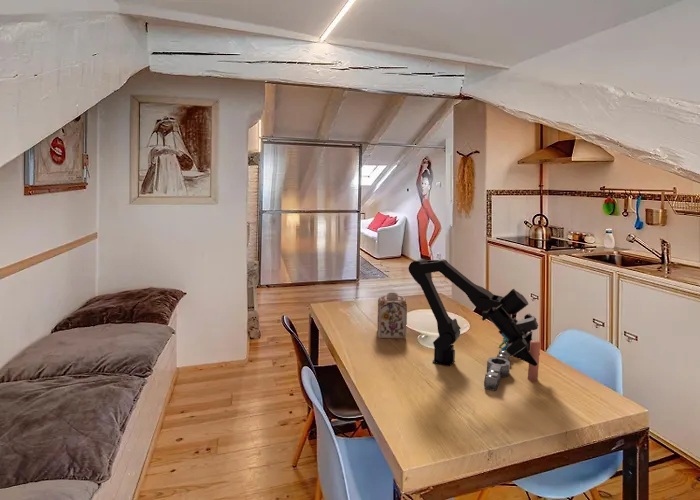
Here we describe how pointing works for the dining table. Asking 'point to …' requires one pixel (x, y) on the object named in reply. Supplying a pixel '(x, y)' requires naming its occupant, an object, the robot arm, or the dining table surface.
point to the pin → (535, 353)
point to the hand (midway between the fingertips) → (537, 360)
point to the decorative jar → (392, 316)
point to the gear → (504, 343)
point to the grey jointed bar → (496, 370)
